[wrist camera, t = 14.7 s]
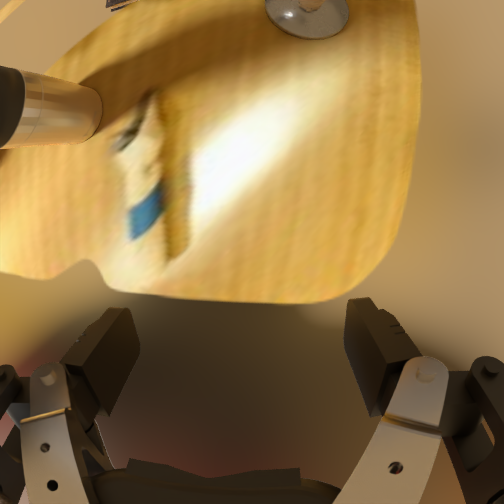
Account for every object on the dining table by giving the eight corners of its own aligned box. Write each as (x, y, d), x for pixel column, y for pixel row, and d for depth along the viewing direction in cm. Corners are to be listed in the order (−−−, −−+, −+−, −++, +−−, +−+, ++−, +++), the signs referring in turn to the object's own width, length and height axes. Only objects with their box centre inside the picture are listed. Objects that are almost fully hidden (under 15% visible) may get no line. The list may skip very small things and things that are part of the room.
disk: (248, 14, 29) (248, 10, 28) (291, -31, 26) (292, -34, 25) (322, 54, 31) (324, 51, 30) (359, 7, 28) (362, 3, 27)
